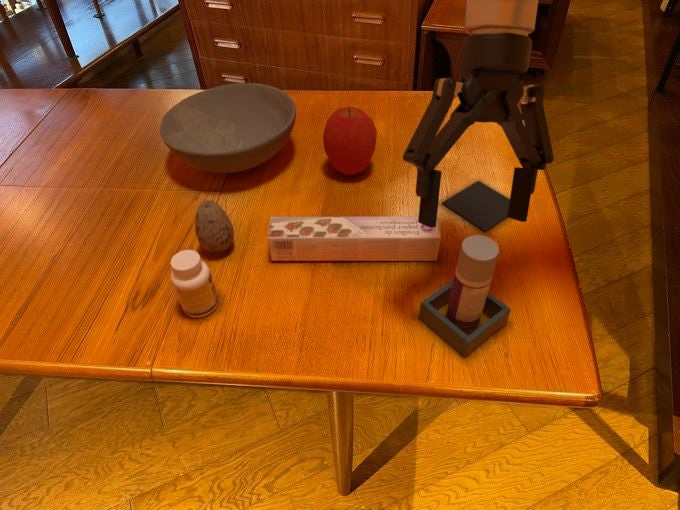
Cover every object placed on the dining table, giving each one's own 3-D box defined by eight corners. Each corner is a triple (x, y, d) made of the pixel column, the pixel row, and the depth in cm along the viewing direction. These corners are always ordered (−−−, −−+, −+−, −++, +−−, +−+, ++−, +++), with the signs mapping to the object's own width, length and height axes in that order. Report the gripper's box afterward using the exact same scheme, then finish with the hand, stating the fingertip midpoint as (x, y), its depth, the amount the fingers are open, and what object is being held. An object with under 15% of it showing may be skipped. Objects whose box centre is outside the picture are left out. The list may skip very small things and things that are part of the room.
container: (445, 306, 72) (460, 232, 61) (477, 309, 71) (498, 235, 61) (445, 332, 69) (461, 259, 58) (479, 335, 68) (501, 262, 58)
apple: (384, 178, 94) (387, 113, 84) (335, 190, 92) (332, 125, 82) (364, 150, 101) (364, 87, 91) (318, 161, 99) (313, 97, 89)
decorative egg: (242, 239, 83) (231, 193, 76) (228, 263, 79) (216, 217, 72) (210, 233, 84) (197, 188, 77) (195, 257, 80) (179, 212, 73)
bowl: (263, 208, 89) (255, 163, 82) (145, 179, 96) (128, 135, 89) (320, 135, 106) (317, 92, 98) (216, 114, 113) (206, 73, 106)
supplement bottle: (225, 307, 73) (211, 263, 66) (191, 324, 71) (173, 280, 64) (210, 285, 76) (195, 240, 69) (177, 301, 74) (158, 256, 67)
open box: (505, 324, 70) (511, 309, 67) (464, 357, 66) (468, 343, 63) (459, 287, 74) (463, 272, 72) (418, 317, 71) (420, 302, 68)
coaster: (521, 208, 87) (522, 206, 87) (484, 232, 83) (485, 231, 83) (478, 182, 93) (478, 180, 92) (441, 204, 88) (442, 202, 88)
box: (434, 238, 82) (438, 213, 78) (438, 261, 78) (442, 236, 74) (273, 240, 83) (269, 215, 79) (270, 263, 79) (265, 238, 75)
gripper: (555, 48, 62) (529, 211, 68) (381, 28, 52) (370, 219, 59) (606, 42, 55) (572, 223, 62) (418, 18, 46) (400, 235, 52)
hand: (473, 222), depth 60 cm, fingers open, 13 cm apart
